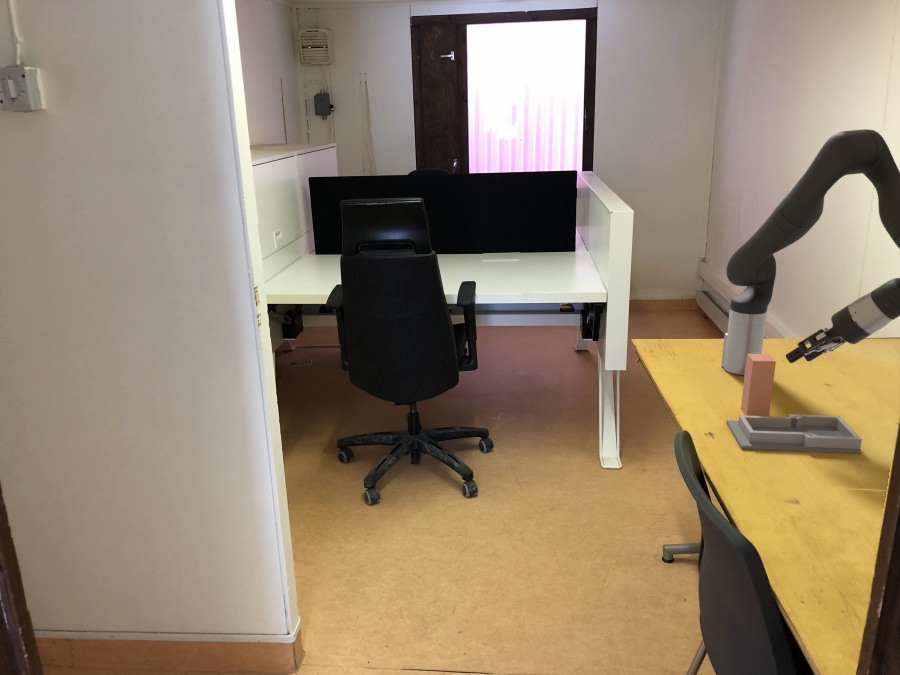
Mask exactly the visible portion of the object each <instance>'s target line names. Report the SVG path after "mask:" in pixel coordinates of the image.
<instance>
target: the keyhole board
mask: <svg viewBox="0 0 900 675" xmlns="http://www.w3.org/2000/svg"><path fill="white" fill-rule="evenodd" d="M726 425H727V427H728V429H729V431H730V432H731V434H732V436H733V437H734V440H735V441H736V443H737V445H739V448H740V450H757V451H762V450H763V451H783V452H785V451H786V452H787V451H788V452H808V453H809V452H811V453H812V452H813V453H815V452H816V453H839V454H861V452H862V449H861V447H862V438H861V437H860V436H859V435H858V433H856V432H855V430H854V429H853V428H852V427H851V426H850V425H849V424H848V423H847V422H846V421H845V420H844V419H843V418H842V417H841V416H840V415H824V414H822V415H821V414H820V415H818V414H798V413H797V414H796V413H794V414H790V413H788V414H787V416H777V415H776V416H775V415H774V416H771V415H769V416H745V414H743V415H738V419H737V420H735V419H734V420H733V419H732V420H731V419H727V420H726Z"/></svg>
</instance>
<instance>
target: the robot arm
mask: <svg viewBox="0 0 900 675" xmlns="http://www.w3.org/2000/svg"><path fill="white" fill-rule="evenodd" d="M860 174H863V175H864V176H865V177H866V178H867V179H868V180H869V182H870V183H871V184H872V185H873V187H874V189H875V190H876V193H877V202H878V204H877V205H878V215H879V219H880V222H881V223H882V226H883V227H884V229H885V231H886V232H887V234H888V235H889V236H890V239H892V241H893V242H894V244H895V245H896V246H897V248H898V249H899V250H900V170H899V168H898V165H897V163H896V161H895V159H894V157H893V154H892V152H891V150H890V148H889V146H888V144H887V142H886V141H885V139H884V137H883V136H882V135H881V134H880V133H879V132H878V131H877V130H874V129H867V128H866V129H865V128H863V129H851V130H844V131H843V130H842V131H838V132H837V133H834V134H833V135H832V136H830V137H829V138H828V139H827V140H826V141H825V143H824V144H823V145H822V146H821V148H820V149H819V151H818V152H817V154H816V156H815V157H814V159H813V161H812V162H811V164H810V165H809V167H808V168H807V170H806V171H805V172H804V174H803V175H802V176H801V178H800V179H799V180H798V181H797V182H796V184H795V185H794V186H793V187H792V189H791V190H790V191H789V192H788V194H786V196H785V197H784V198H783V199H782V200H781V201H780V202H779V204H778V205H777V206H776V208H775V209H774V210H773V211H772V213H771V214H770V216H769V217H768V218H766V219H765V221H764V222H763V223H762V224H761V226H760V227H759V228H758V229H757V231H756V232H755V233H754V234H753V235H752V236H751V237H750V238H749V239H748V240H747V241H746V242H744V244H742V245H741V246H740V247H739V248H738V249H737V250H736V251H735V252H734V253H733V254H732V255H731V257H730V258H729V260H728V262H727V264H726V269H725V270H726V271H725V272H726V277H727V279H728V281H729V282H730V283H731V284H733V285H734V286H737V287H745V289H743V291H741V292H740V293H737V295H734V296H733V297H732V298H731V300H730V306H729V315H728V325H727V332H726V333H724V336H723V343H722V344H723V346H722V356H721V363H720V364H721V365H720V366H721V367H722V368H723V369H724V370H725V371H726V372H728V373H730V374H733V375H738V376H745V368H746V359H747V354H763V349H764V348H763V347H764V339H765V330H766V324H767V323H766V322H767V313H768V307H769V305H770V303H771V301H772V296H773V292H774V285H775V281H776V275H777V262H776V257H775V256H774V254H776V253H778V252H779V251H782V250H784V249H785V248H788V247H789V246H791V245H793V244H795V243H796V242H797V241H799V240H800V239H802V238H803V237H804V236H806V234H807V233H808V232H809V231H810V230H811V229H812V228H813V227H814V226H815V225H816V224H817V222H818V221H819V220H820V218H821V216H822V214H823V211H824V202H825V196H826V194H827V193H828V191H829V190H831V188H832V187H833V186H834V185H835V184H836V183H837V182H838V181H839V180H840V179H841V178H843V177H845V176H849V175H860ZM898 317H900V277H896V278H892V279H890V280H888V281H885V283H883V284H881V285H880V286H878V287H877V288H875V289H874V290H872V291H870V292H868V293H866V294H865V295H862V296H861V297H859V298H857V299H856V300H853V301H852V302H851V303H849V304H848V305H846V306H845V307H843V308H842V309H840V310H839V311H837V312H835V313H834V314H833V315H831V318H830V319H831V320H830V321H831V323H832V327H830V328H828V327H825V328H822V329H818V330H817V331H815V332H814V333H812V334H811V335H809V336H807V337H806V338H804V339H803V340H801V341H798V343H797V344H796V345H797V347H796V348H794V349H792V350H791V351H789V352H788V353H787V354H785V358H786V360H787V362H789V364H795V363H796V362H797V361H799V360H801V359H802V358H804V359H805V361H806V362H812V361H813V360H815V359H817V358H818V357H820V356H822V355H824V354H827V353H829V352H833V351H835V350H836V349H838V348H839V347H841V346H842V345H844V344H845V343H848V344H851V345H856V344H858V343H859V342H862V341H863V340H865V339H866V338H868V337H870V336H871V335H874V334H875V333H876V332H878V331H879V330H881V329H883V328H885V327H886V326H887V325H889V324H890V322H892V321H894V320H895V319H897V318H898ZM809 344H810V346H809V347H807V345H809Z"/></svg>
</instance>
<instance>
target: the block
mask: <svg viewBox="0 0 900 675" xmlns="http://www.w3.org/2000/svg"><path fill="white" fill-rule="evenodd" d="M776 362H777V361H776V359H774V357H773V356H772V355H771V354H770V353H762V354H747V359H746V368H745V375H743V376H744V377H743V387H742V395H741V401H740V402H741V404H740V410H741V412H742V413H743V415H745V416H770V409H771V403H772V395H773V386H774V381H775V380H774V378H775V370H776V365H777V364H776Z"/></svg>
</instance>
